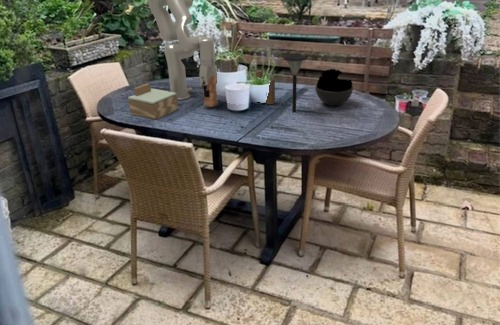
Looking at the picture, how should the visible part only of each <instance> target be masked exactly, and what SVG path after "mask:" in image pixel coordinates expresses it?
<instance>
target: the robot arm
mask: <svg viewBox="0 0 500 325" xmlns="http://www.w3.org/2000/svg"><path fill="white" fill-rule="evenodd" d="M147 3H148V7H149V9H150V12H151V13H152V15H153V17H154V19H155V21H156V24H157V27H158V30H159V33H160V35H161V38H162V39H163V41H164V42H171V43H168V44H166V46H165V47H164V55H165V60H166V63H167V71H168V79H169V88H170V90H169V91H170V92H174V93H177V101H184V100H187V99H189V98H190V97H191V94H190V93H189V92H191V91H192V90H193V88H192V87H191V86H190V87H187V77H186V75H187V74H186V67H185V65H184V63H183V62H182V60H183V59H188V58H190V57H192V56H193V55H194V54H195V52H199V57H200V59H199V60H200V66H199V74H198V76H199V87H200V88H201V89H202V90H204V92H203V98H204V97H208V98H209V90H208V87H209V86H208V85H209V78H210V77H213V76H216V85H217V83H218V81H217V78H218V72H217V70H218V69H217V66H216V59H215V42H214V39H213V38H212V37H207V36H205V35H196V36H191V34H190V31H189V28H188V27H187V25H188V24H190V23H191V22H192V19H193V17H192V14H191V13H190V11H189V9H190V8H192V6H193V4H194V3H193V0H147ZM166 6H167V8H168V9H169V10H170V12H171V14H172V16H173V18H174V21H176V22H174V21H173V19H172V16H171V14H170V13H169V11H168V10H167V8H164V7H166ZM173 41H175V42H173ZM205 85H206V87H205Z"/></svg>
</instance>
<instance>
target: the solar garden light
mask: <svg viewBox="0 0 500 325" xmlns="http://www.w3.org/2000/svg"><path fill="white" fill-rule="evenodd" d="M282 58H283V59H282V60H284V61H287V64H288V66H289V69H290V72H291V73H292V107H291V108H292V109H291V110H292V113H294V112H295V113H296V112H297V77H298V76H297V75H298V72H299V70H300V69H301V66H302V64H303V62H304V61H307V60H308V57H307V56H304V55H303V54H301V53H290V54H288V55H286V56H284V57H282Z"/></svg>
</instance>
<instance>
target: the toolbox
mask: <svg viewBox="0 0 500 325" xmlns="http://www.w3.org/2000/svg"><path fill="white" fill-rule="evenodd" d="M128 107H129V113H130V115H133V116H137V117H142V118H146V119H150V120H154V121H155V120H158V119H160V118H162V117H165V116H168V115H169V114H172V113H174V112H175V111H178V110H179V104H178V100H177V95H175V96H173V97H170V98H168V99H165V100H163V101H160V102H158V103H155V104H149V103H144V102H140V101H135V100H130V99H128Z"/></svg>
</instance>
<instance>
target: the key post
mask: <svg viewBox="0 0 500 325" xmlns="http://www.w3.org/2000/svg"><path fill="white" fill-rule="evenodd" d="M208 86H209V87H208V90H209V98H208V97H204V96H203V104H204V106H205V107H211V108H212V107H214V106H217V105H218V96H217V95H218V94H217V93H218V92H217V84H216V76H213V77H210V78H209V85H208ZM205 87H206V85H205ZM202 90H203V89H202ZM203 93H204V90H203Z"/></svg>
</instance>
